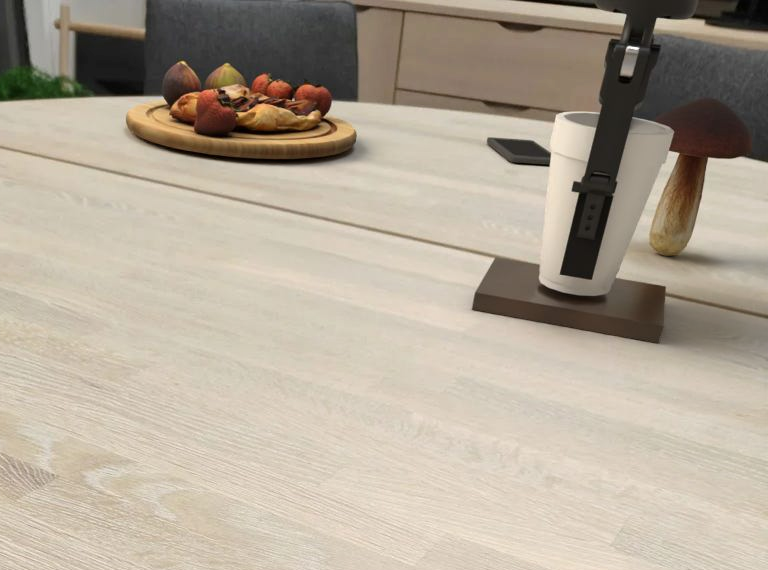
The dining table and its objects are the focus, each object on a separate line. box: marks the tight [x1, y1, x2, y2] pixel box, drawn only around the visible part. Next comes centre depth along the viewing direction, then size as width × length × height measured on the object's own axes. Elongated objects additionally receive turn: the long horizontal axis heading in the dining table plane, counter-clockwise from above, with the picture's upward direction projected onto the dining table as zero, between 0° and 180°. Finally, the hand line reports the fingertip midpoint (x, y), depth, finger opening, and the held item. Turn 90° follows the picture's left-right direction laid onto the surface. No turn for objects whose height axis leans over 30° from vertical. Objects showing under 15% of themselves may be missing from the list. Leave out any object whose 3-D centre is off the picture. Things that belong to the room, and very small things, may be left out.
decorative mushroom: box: [648, 97, 754, 257], centre depth 102 cm, size 11×11×15 cm
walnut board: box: [471, 257, 667, 344], centre depth 89 cm, size 16×12×2 cm
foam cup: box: [539, 111, 674, 296], centre depth 85 cm, size 10×9×13 cm
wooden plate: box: [125, 60, 358, 160], centre depth 136 cm, size 32×32×8 cm
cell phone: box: [486, 136, 551, 166], centre depth 145 cm, size 7×14×1 cm, turn 6°
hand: (580, 261), depth 88 cm, fingers closed on foam cup, 9 cm apart
